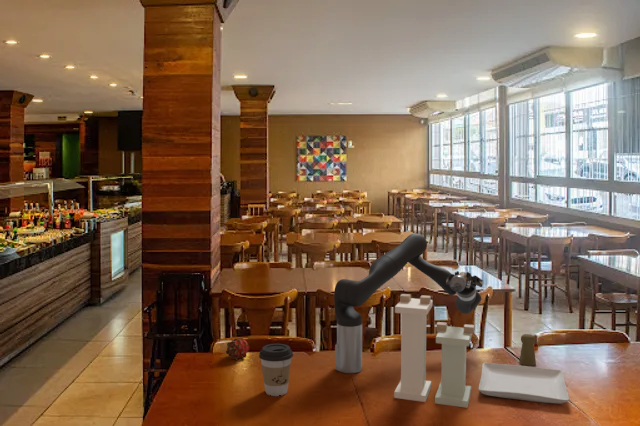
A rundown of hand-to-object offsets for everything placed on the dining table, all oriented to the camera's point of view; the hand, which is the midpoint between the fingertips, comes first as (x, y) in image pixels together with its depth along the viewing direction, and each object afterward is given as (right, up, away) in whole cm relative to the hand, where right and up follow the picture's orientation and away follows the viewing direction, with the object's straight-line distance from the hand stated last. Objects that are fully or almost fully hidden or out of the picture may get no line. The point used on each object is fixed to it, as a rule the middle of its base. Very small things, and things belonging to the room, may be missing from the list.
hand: (462, 274), depth 202 cm
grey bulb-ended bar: (-2, -3, -6) cm, 7 cm away
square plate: (+17, -38, -12) cm, 43 cm away
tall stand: (-20, -38, -15) cm, 45 cm away
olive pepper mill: (+28, -35, +12) cm, 46 cm away
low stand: (-8, -38, -19) cm, 43 cm away
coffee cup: (-65, -38, -14) cm, 77 cm away
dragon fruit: (-83, -35, +19) cm, 92 cm away
